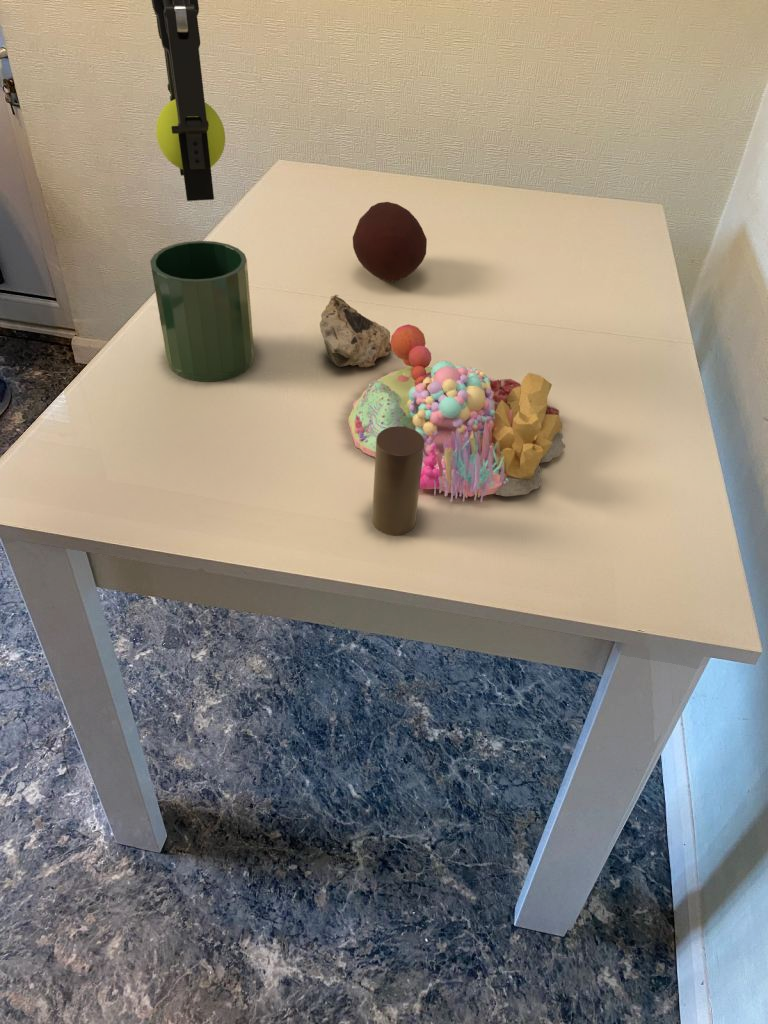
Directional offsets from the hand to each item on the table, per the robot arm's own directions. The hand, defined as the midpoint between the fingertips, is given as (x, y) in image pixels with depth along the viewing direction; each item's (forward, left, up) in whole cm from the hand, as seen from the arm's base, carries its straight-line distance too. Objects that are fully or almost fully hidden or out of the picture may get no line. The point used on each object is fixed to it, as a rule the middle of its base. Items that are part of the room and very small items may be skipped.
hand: (196, 185), depth 78 cm
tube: (-1, +1, -22) cm, 22 cm away
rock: (+17, -3, -22) cm, 28 cm away
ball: (0, 0, +5) cm, 5 cm away
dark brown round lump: (+28, +19, -22) cm, 41 cm away
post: (+13, -33, -22) cm, 41 cm away
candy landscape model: (+24, -21, -22) cm, 39 cm away
